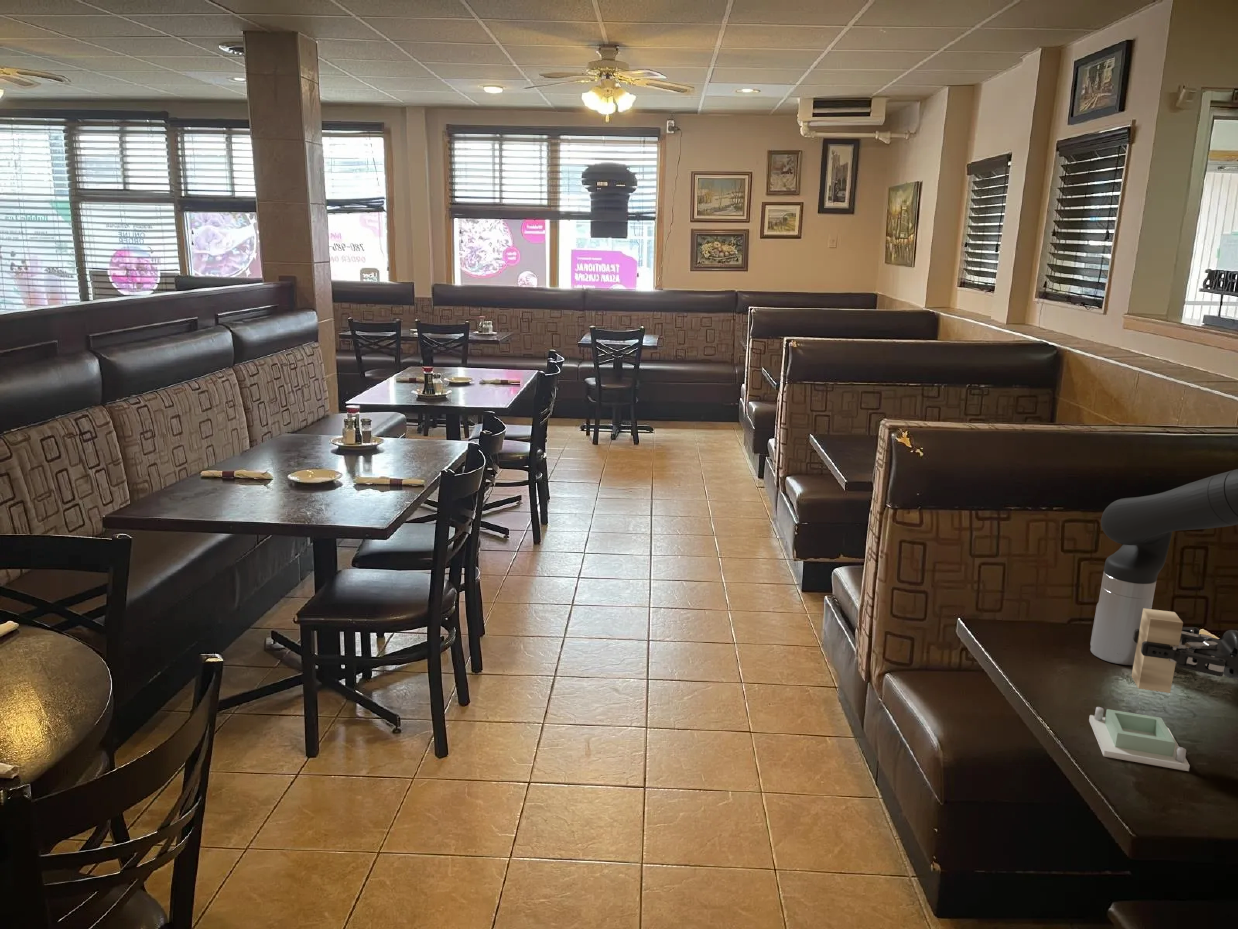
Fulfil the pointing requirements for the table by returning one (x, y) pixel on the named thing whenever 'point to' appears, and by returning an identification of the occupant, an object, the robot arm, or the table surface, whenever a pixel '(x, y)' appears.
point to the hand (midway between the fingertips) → (1138, 641)
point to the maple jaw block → (1152, 669)
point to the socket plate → (1137, 739)
